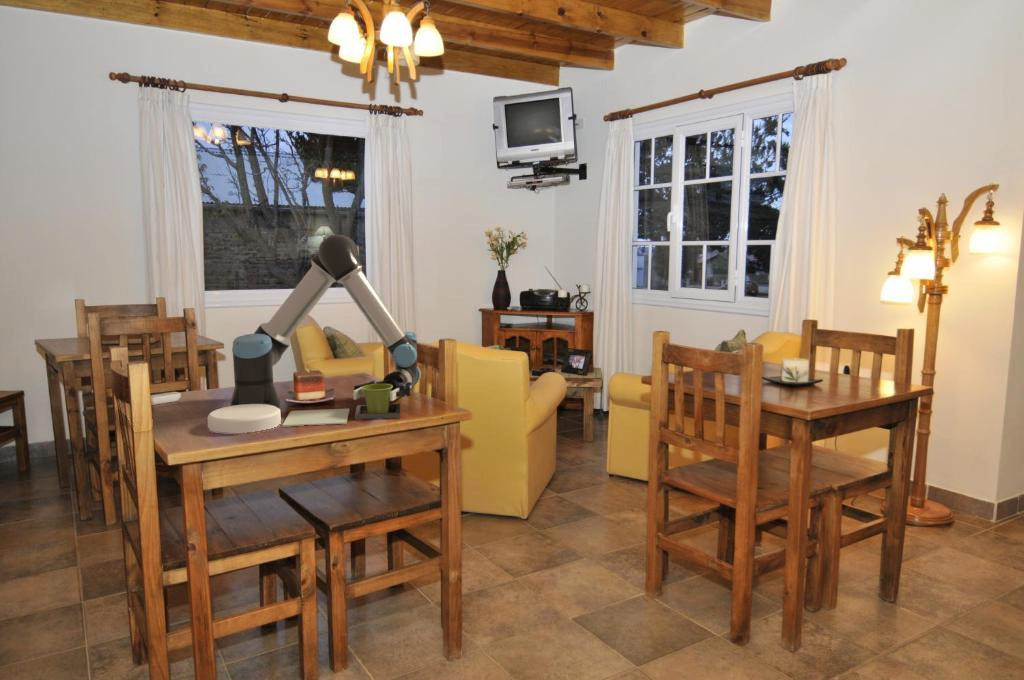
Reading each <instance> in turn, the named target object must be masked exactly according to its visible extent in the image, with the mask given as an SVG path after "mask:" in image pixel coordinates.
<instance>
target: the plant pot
mask: <svg viewBox="0 0 1024 680" xmlns="http://www.w3.org/2000/svg"><path fill="white" fill-rule="evenodd" d="M392 388H393V386H392V385H390V384H370V385H365V386H363V387H362V389H363V392H364V397H365V403H366V404H365V405H367V409H368V410H367V414H372V413H389V410H390V409H389V404H390V392H391V389H392Z"/></svg>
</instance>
